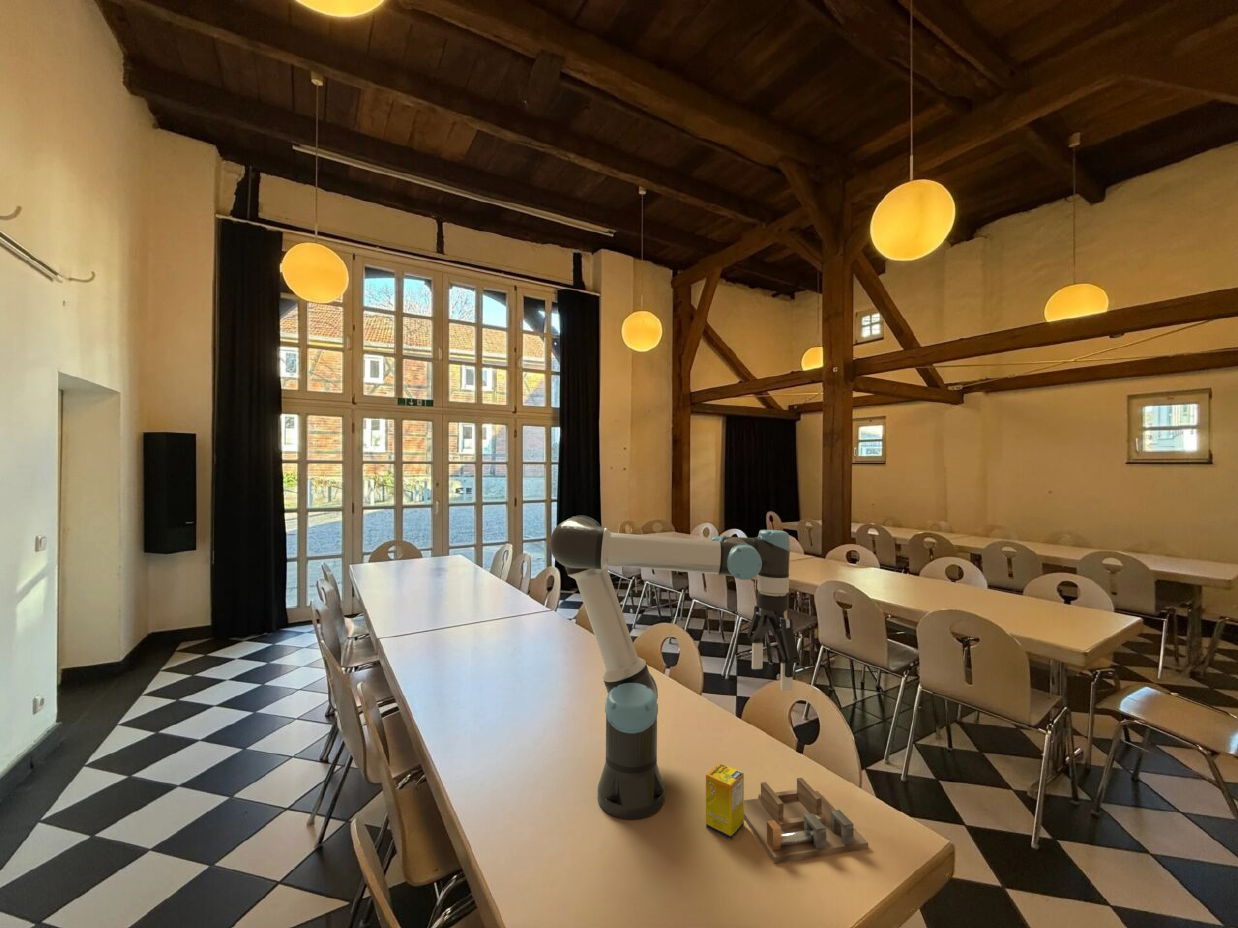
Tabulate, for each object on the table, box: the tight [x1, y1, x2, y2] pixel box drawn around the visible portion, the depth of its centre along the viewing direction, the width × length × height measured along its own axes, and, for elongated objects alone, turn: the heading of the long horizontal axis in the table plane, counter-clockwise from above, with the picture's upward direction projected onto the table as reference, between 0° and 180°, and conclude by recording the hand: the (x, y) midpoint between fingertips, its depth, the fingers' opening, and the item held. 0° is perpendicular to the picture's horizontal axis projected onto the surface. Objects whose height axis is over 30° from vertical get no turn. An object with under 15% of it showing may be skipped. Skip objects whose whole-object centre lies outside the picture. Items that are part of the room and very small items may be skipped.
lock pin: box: [767, 820, 827, 851], centre depth 100 cm, size 12×2×4 cm, turn 102°
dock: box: [744, 777, 869, 865], centre depth 107 cm, size 20×17×6 cm
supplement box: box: [705, 762, 745, 840], centre depth 107 cm, size 6×6×11 cm
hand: (770, 678), depth 127 cm, fingers open, 13 cm apart
